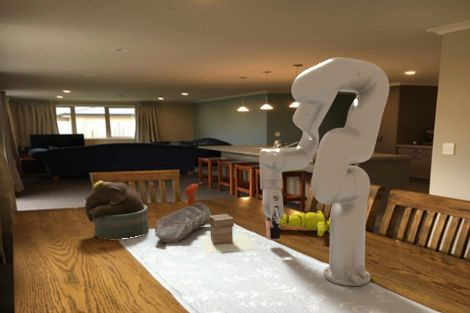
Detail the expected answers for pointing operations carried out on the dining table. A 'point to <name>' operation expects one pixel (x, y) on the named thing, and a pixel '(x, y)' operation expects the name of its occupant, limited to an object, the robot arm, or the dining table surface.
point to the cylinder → (268, 229)
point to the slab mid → (222, 231)
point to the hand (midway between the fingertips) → (272, 236)
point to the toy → (308, 221)
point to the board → (238, 244)
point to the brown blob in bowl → (116, 211)
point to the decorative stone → (182, 223)
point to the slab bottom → (221, 240)
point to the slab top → (221, 221)
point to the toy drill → (192, 192)
